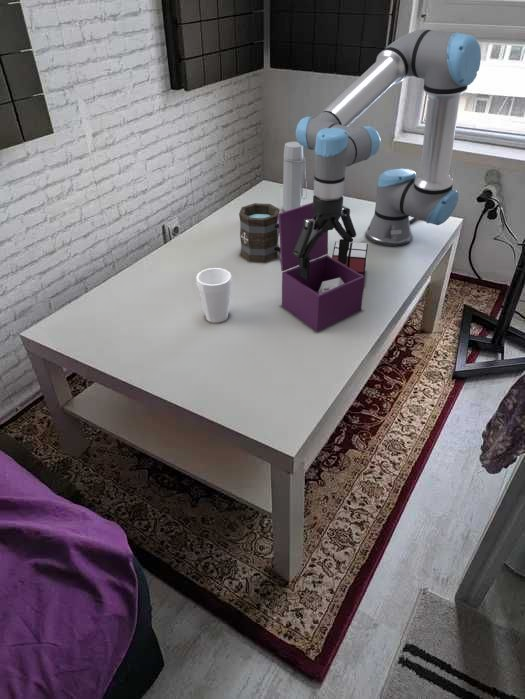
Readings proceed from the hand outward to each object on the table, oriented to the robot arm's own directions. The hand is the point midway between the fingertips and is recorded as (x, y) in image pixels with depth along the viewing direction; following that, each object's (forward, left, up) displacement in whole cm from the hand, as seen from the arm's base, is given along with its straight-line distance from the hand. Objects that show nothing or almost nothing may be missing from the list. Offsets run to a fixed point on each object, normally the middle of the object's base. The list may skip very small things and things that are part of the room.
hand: (323, 269), depth 147 cm
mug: (-7, -35, -13) cm, 38 cm away
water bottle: (-37, -58, -13) cm, 70 cm away
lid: (0, -8, +7) cm, 11 cm away
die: (-1, 0, -11) cm, 11 cm away
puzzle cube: (-18, -8, -13) cm, 23 cm away
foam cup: (+26, -15, -13) cm, 33 cm away
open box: (0, 0, -13) cm, 13 cm away
